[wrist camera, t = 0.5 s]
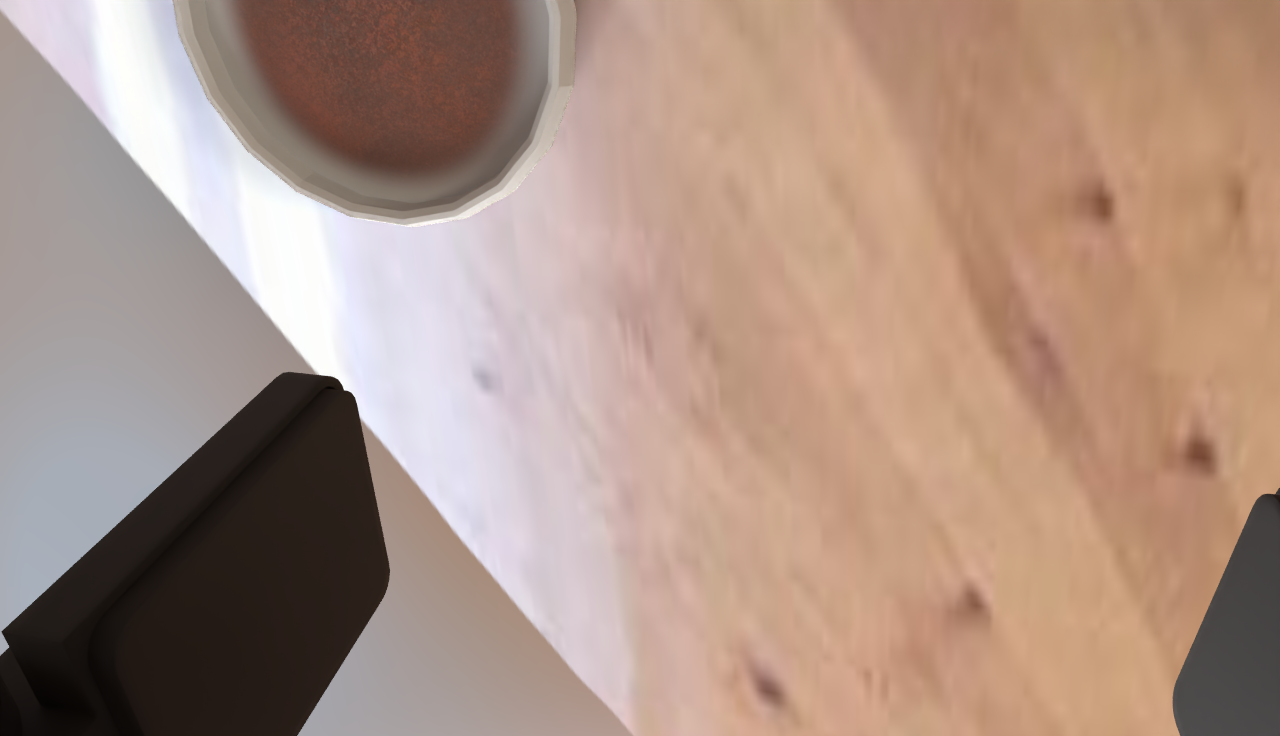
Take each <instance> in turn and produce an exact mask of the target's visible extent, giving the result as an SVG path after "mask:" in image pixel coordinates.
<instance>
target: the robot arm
mask: <svg viewBox="0 0 1280 736" xmlns="http://www.w3.org/2000/svg"><path fill="white" fill-rule="evenodd" d="M389 575H390V568H389V561H388V556H387V552H386V547H385V542H384V537H383V532H382V527H381V522H380V517H379V512H378V507H377V502H376V497H375V492H374V487H373V482H372V477H371V473H370V467H369V462H368V457H367V452H366V447H365V443H364V437H363V432H362V427H361V422H360V417H359V412H358V407H357V403H356V400H355V397H354V396H353V394H352V393H351V392H349V391H344V389H343V386H342V384H341V383H340V382H339V380H338V379H336V378H334V377H331V376H322V375H313V374H303V373H294V372H286V373H282V374H281V375H279V376H278V377H276V378H275V379H274V380H273V381H272V382H271V383H270V384H269V385H268V386H267V387H265V388H264V389H263V390H262V391H261V392H260V393H259V394H258V395H257V396H256V397H255V398H254V399H253V400H251V401H250V402H249V403H248V404H247V405H246V406H245V407H244V408H243V409H242V410H241V411H240V412H238V413H237V414H236V415H235V416H234V417H233V418H232V419H231V420H230V421H229V422H228V423H227V424H225V426H223V427H222V428H221V429H220V430H219V431H218V432H217V433H216V434H215V435H214V436H212V437H211V438H210V439H209V440H208V441H207V442H206V443H205V444H204V445H203V446H202V447H201V448H200V449H198V450H197V451H196V452H195V453H194V454H193V455H192V456H191V457H190V458H189V459H188V460H187V461H186V462H184V463H183V464H182V465H181V466H180V467H179V468H178V469H177V470H176V471H175V472H174V473H173V474H171V475H170V476H169V477H168V478H167V479H166V480H165V481H164V482H163V483H162V484H161V485H160V486H159V487H157V488H156V489H155V490H154V491H153V492H152V493H151V494H150V495H149V496H148V497H147V498H146V499H144V500H143V501H142V502H141V503H140V504H139V505H138V506H137V507H136V508H135V509H134V510H132V512H130V513H129V514H128V515H127V516H126V517H125V518H124V519H123V520H122V521H121V522H120V523H118V524H117V525H116V526H115V527H114V528H113V529H112V530H111V531H110V532H109V533H108V534H107V535H105V536H104V537H103V538H102V539H101V540H100V541H99V542H98V543H97V544H96V545H95V546H94V547H92V548H91V549H90V550H89V551H88V552H87V553H86V554H85V555H84V556H83V557H82V558H81V559H80V560H79V561H77V562H76V563H75V564H74V565H73V566H72V567H71V568H70V569H69V570H68V571H67V572H65V573H64V574H63V575H62V576H61V577H60V578H59V579H58V580H57V581H56V582H55V583H54V584H52V585H51V586H50V587H49V588H48V589H47V590H46V591H45V592H44V593H43V594H42V595H41V596H39V597H38V598H37V599H36V600H35V601H34V602H33V603H32V604H31V605H30V606H29V607H28V608H27V609H25V610H24V611H23V612H22V613H21V614H20V615H19V616H18V617H17V618H16V619H15V620H14V621H12V622H11V623H10V624H9V625H8V626H7V627H6V628H5V629H4V630H3V631H2V634H3V635H4V637H5V639H6V641H7V643H8V645H9V648H8V649H7V650H6V651H5V652H4V653H3V654H2V655H1V656H0V736H297V735H298V734H299V732H300V730H301V729H302V727H303V726H304V724H305V722H306V720H307V719H308V717H309V716H310V714H311V713H312V711H313V710H314V708H315V706H316V705H317V703H318V702H319V700H320V698H321V697H322V695H323V694H324V692H325V690H326V689H327V687H328V686H329V684H330V682H331V680H332V679H333V678H334V676H335V674H336V673H337V671H338V670H339V668H340V666H341V665H342V663H343V662H344V660H345V658H346V657H347V655H348V654H349V652H350V650H351V649H352V647H353V645H354V644H355V642H356V641H357V639H358V638H359V636H360V634H361V633H362V631H363V629H364V628H365V626H366V625H367V623H368V622H369V620H370V618H371V617H372V615H373V614H374V612H375V610H376V609H377V607H378V606H379V604H380V602H381V601H382V599H383V597H384V595H385V593H386V590H387V587H388V582H389ZM1173 712H1174V718H1175V721H1176V725H1177V728H1178V730H1179V733H1180V736H1280V488H1279V489H1278V491H1277V492H1276V494H1264V495H1262V496H1260V497H1259V498H1258V499H1257V500H1256V502H1255V504H1254V506H1253V508H1252V510H1251V512H1250V514H1249V517H1248V519H1247V521H1246V524H1245V526H1244V528H1243V530H1242V533H1241V535H1240V537H1239V539H1238V542H1237V544H1236V546H1235V549H1234V551H1233V553H1232V555H1231V558H1230V560H1229V562H1228V565H1227V567H1226V569H1225V571H1224V574H1223V576H1222V578H1221V581H1220V583H1219V585H1218V587H1217V590H1216V592H1215V594H1214V596H1213V599H1212V601H1211V603H1210V606H1209V608H1208V610H1207V612H1206V615H1205V617H1204V619H1203V622H1202V624H1201V626H1200V628H1199V631H1198V633H1197V635H1196V638H1195V640H1194V642H1193V644H1192V647H1191V649H1190V651H1189V654H1188V656H1187V658H1186V660H1185V663H1184V665H1183V667H1182V669H1181V672H1180V674H1179V676H1178V679H1177V681H1176V684H1175V687H1174V692H1173Z"/></svg>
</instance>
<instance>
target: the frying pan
mask: <svg viewBox="0 0 1280 736" xmlns="http://www.w3.org/2000/svg"><path fill="white" fill-rule="evenodd" d="M173 5H174V11H175V16H176V22H177V27H178V32H179V37H180V39H181V41H182V44H183V46H184V48H185V50H186V52H187V55H188V57H189V59H190V61H191V64H192V66H193V68H194V70H195V72H196V75H197V77H198V79H199V81H200V84H201V86H202V88H203V90H204V92H205V95H206V97H207V99H208V100H209V101H210V103H211V104H212V105H213V107H214V108H215V109H216V111H217V112H218V113H219V115H220V116H221V117H222V119H223V120H224V121H225V123H226V124H227V125H228V126H229V128H230V129H231V130H232V132H233V133H234V134H235V136H236V137H237V138H238V140H239V141H240V142H241V144H242V145H243V146H244V147H245V149H246V150H247V151H248V152H249V153H250V154H251V155H253V156H254V157H255V158H256V159H257V160H259V161H260V162H261V163H262V164H263V165H265V166H266V167H267V168H268V169H270V170H271V171H272V172H273V173H274V174H276V175H277V176H278V177H279V178H280V179H282V180H283V181H284V182H285V183H287V184H288V185H289V186H290V187H291V188H293V189H294V190H295V191H296V192H299V193H301V194H303V195H305V196H307V197H309V198H311V199H313V200H316V201H318V202H320V203H322V204H324V205H326V206H328V207H330V208H333V209H335V210H337V211H339V212H341V213H343V214H345V215H347V216H350V217H354V218H358V219H364V220H371V221H377V222H383V223H390V224H396V225H402V226H408V227H418V226H424V225H430V224H436V223H442V222H448V221H454V220H460V219H466V218H469V217H470V216H472V215H474V214H476V213H477V212H479V211H481V210H483V209H484V208H486V207H488V206H490V205H491V204H493V203H495V202H497V201H498V200H500V199H502V198H504V197H505V196H507V195H509V194H511V193H512V192H514V191H515V190H516V189H517V188H518V187H519V186H520V184H521V183H522V182H523V181H524V179H525V178H526V177H527V176H528V175H529V173H530V172H531V171H532V170H533V169H534V167H535V166H536V165H537V164H538V162H539V161H540V160H541V159H542V158H543V156H544V155H545V154H546V153H547V152H548V150H549V149H550V148H551V147H552V145H553V142H554V139H555V136H556V134H557V131H558V128H559V125H560V123H561V120H562V117H563V114H564V112H565V109H566V106H567V103H568V101H569V98H570V95H571V92H572V89H573V87H574V71H575V45H576V18H577V12H576V8H575V4H574V0H173Z"/></svg>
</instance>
